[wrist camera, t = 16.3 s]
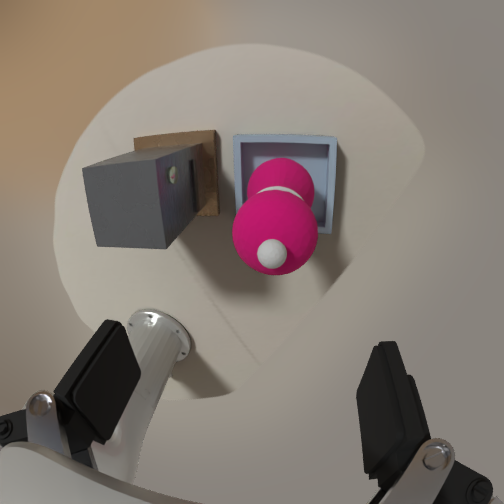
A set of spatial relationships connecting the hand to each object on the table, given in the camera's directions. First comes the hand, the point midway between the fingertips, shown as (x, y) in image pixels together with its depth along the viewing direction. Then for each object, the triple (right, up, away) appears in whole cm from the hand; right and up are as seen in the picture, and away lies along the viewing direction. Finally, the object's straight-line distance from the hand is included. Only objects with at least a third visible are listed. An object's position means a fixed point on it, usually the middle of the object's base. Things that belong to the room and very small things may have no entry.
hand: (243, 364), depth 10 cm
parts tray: (+4, +13, +25) cm, 28 cm away
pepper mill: (+4, +13, +25) cm, 28 cm away
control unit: (-10, +14, +26) cm, 31 cm away
